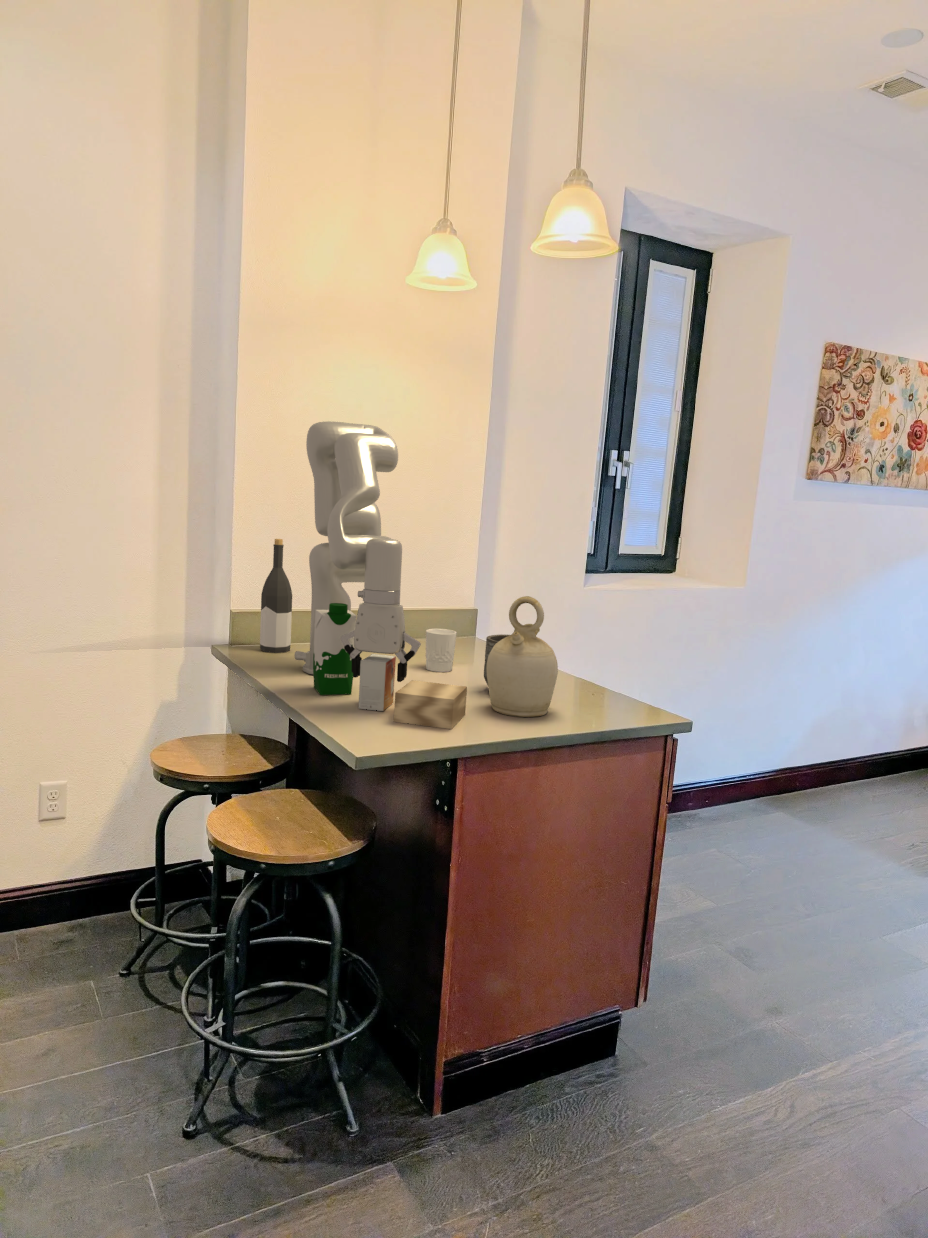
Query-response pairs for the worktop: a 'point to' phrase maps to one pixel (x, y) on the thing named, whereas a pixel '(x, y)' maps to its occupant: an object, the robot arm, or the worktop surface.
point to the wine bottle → (276, 607)
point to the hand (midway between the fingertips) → (378, 678)
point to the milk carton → (333, 650)
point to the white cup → (440, 649)
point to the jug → (522, 668)
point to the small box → (377, 682)
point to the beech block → (430, 704)
